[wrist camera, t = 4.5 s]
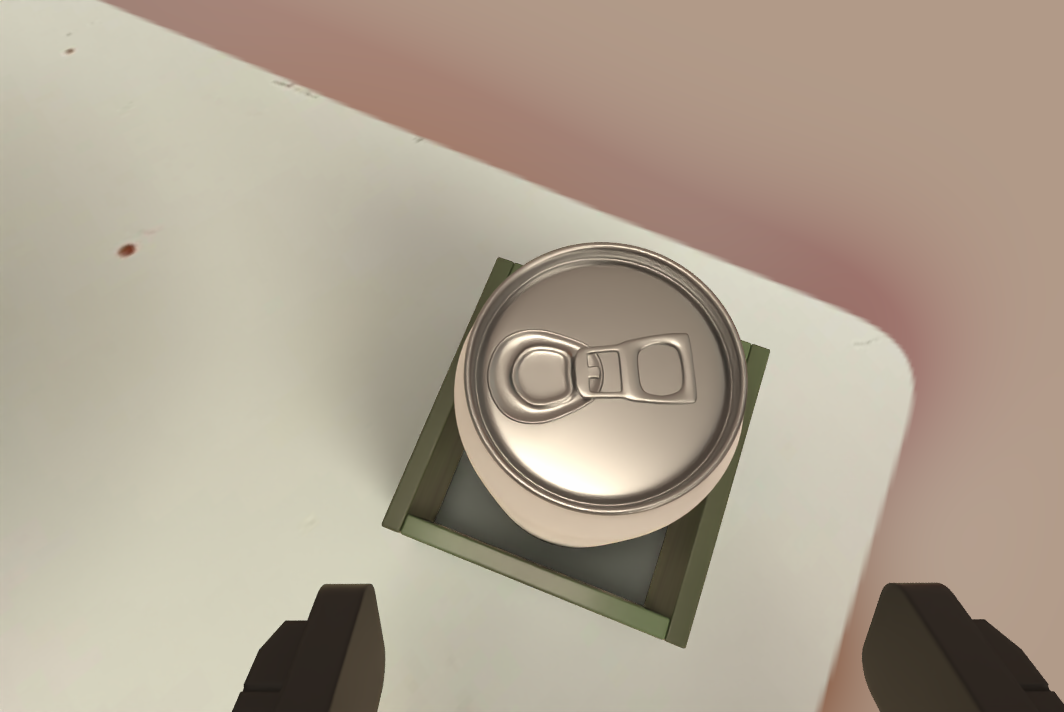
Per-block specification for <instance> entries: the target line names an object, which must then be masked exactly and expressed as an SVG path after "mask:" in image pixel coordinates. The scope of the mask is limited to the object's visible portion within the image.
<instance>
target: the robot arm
mask: <svg viewBox="0 0 1064 712" xmlns="http://www.w3.org/2000/svg"><path fill="white" fill-rule="evenodd" d="M862 663H863V670H864V675H865V679H866V682H867V685H868V688H869V690H870V692H871V694H872V696H873V698H874V700H875V702H876V704H877V706H878V708H879V710H880V712H1064V704H1063V703H1062V701H1061V700H1060V699H1059V697H1058V696H1057V695H1056V693H1055V692H1053V691H1050V690H1049V688H1048V683H1047V682H1046V681H1045V679H1044V678H1043V677H1042V675H1041V674H1040V673H1039V671H1038V670H1037V669H1036V668H1035V666H1034V665H1033V664H1032V662H1031V661H1030V660H1029V659H1028V657H1027V656H1026V655H1025V653H1024V652H1023V651H1022V649H1020V648H1019V647H1018V646H1017V645H1015V644H1014V643H1013V642H1011V641H1010V640H1009V639H1008V638H1007V637H1006V636H1004V635H1003V634H1002V633H1000V632H999V631H998V630H997V629H995V628H994V627H993V626H992V625H991V624H989V623H988V622H987V621H986V620H984V619H979V620H975V619H974V620H972V619H971V617H970V616H969V615H968V613H967V612H966V611H965V609H964V608H963V606H962V605H961V604H960V602H959V601H958V600H957V598H956V597H955V595H954V594H953V593H952V592H951V591H950V590H949V589H948V588H947V587H946V586H944V585H943V584H940V583H889V584H887V585H885V587H884V588H883V590H882V592H881V595H880V598H879V601H878V604H877V607H876V610H875V613H874V616H873V619H872V622H871V625H870V628H869V631H868V634H867V637H866V640H865V643H864V646H863V652H862ZM384 673H385V647H384V641H383V635H382V629H381V624H380V618H379V612H378V607H377V601H376V595H375V590H374V587H373V585H372V584H324V585H323V586H322V587H321V588H320V590H319V592H318V594H317V596H316V599H315V602H314V604H313V607H312V609H311V612H310V615H309V617H308V620H307V621H285V622H284V623H283V624H282V625H281V626H280V627H279V628H278V629H277V631H276V632H275V633H274V634H273V635H272V636H271V637H270V638H269V640H268V641H267V642H266V643H265V644H264V645H263V646H262V647H261V648H260V650H259V651H258V653H257V656H256V658H255V660H254V663H253V665H252V667H251V669H250V672H249V674H248V676H247V678H246V681H245V683H244V689H243V692H240V694H239V697H238V699H237V701H236V704H235V706H234V708H233V710H232V712H377V710H378V706H379V701H380V697H381V693H382V688H383V681H384Z"/></svg>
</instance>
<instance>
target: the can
mask: <svg viewBox="0 0 1064 712" xmlns="http://www.w3.org/2000/svg"><path fill="white" fill-rule="evenodd" d="M747 392H748V374H747V365H746V359H745V354H744V350H743V346H742V343H741V340H740V337H739V334H738V332H737V329H736V327H735V325H734V323H733V321H732V319H731V317H730V316H729V314H728V312H727V311H726V309H725V307H724V306H723V305H722V303H721V302H720V300H719V299H718V298H717V297H716V295H715V294H714V293H713V292H712V291H711V290H710V289H709V288H708V287H707V286H706V285H705V284H704V283H703V282H702V281H701V280H700V279H699V278H698V277H696V276H695V275H694V274H693V273H691V272H690V271H689V270H687V269H686V268H684V267H683V266H681V265H680V264H678V263H676V262H675V261H673V260H671V259H669V258H667V257H665V256H663V255H660V254H658V253H656V252H653V251H650V250H647V249H644V248H640V247H636V246H632V245H627V244H620V243H609V242H594V243H583V244H576V245H571V246H567V247H563V248H559V249H556V250H553V251H551V252H548V253H546V254H543V255H541V256H539V257H537V258H535V259H533V260H531V261H530V262H528V263H526V264H525V265H523V266H521V267H520V268H519V269H517V270H516V271H515V272H513V273H512V274H511V275H510V276H509V277H507V278H506V279H505V280H504V281H503V282H502V283H501V284H500V285H499V286H498V287H497V288H496V290H495V291H494V292H493V293H492V294H491V296H490V297H489V298H488V300H487V301H486V303H485V304H484V306H483V307H482V309H481V311H480V313H479V314H478V316H477V318H476V321H475V323H474V325H473V327H472V328H471V330H470V332H469V334H468V336H467V338H466V340H465V343H464V345H463V348H462V351H461V354H460V357H459V361H458V365H457V369H456V375H455V386H454V404H455V414H456V421H457V426H458V430H459V434H460V437H461V441H462V443H463V446H464V449H465V451H466V454H467V456H468V458H469V460H470V462H471V464H472V466H473V468H474V470H475V471H476V473H477V475H478V476H479V478H480V479H481V481H482V482H483V484H484V485H485V487H486V488H487V489H488V491H489V492H490V493H491V495H492V496H493V497H494V499H495V500H496V501H497V503H498V504H499V505H500V506H501V508H502V509H503V510H504V511H505V512H506V514H507V515H508V516H509V517H510V518H511V519H512V520H513V521H514V522H515V523H516V524H517V525H518V526H519V527H521V528H522V529H523V530H525V531H526V532H527V533H529V534H531V535H532V536H534V537H536V538H538V539H540V540H542V541H545V542H547V543H550V544H554V545H558V546H562V547H570V548H586V547H595V546H601V545H606V544H611V543H616V542H620V541H624V540H629V539H632V538H636V537H640V536H643V535H646V534H649V533H651V532H654V531H656V530H658V529H661V528H663V527H665V526H667V525H669V524H671V523H673V522H674V521H676V520H678V519H679V518H681V517H682V516H684V515H685V514H687V513H688V512H689V511H691V510H692V509H693V508H694V507H695V506H697V505H698V504H699V503H700V502H701V501H702V500H703V499H704V498H705V497H706V496H707V495H708V494H709V493H710V491H711V490H712V489H713V488H714V487H715V485H716V484H717V483H718V482H719V480H720V479H721V477H722V476H723V474H724V473H725V471H726V469H727V467H728V466H729V464H730V462H731V460H732V457H733V455H734V453H735V450H736V447H737V444H738V441H739V438H740V434H741V429H742V424H743V417H744V412H745V407H746V401H747Z"/></svg>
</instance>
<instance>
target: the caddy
mask: <svg viewBox="0 0 1064 712" xmlns="http://www.w3.org/2000/svg"><path fill="white" fill-rule="evenodd" d="M521 266H523V265H521V264H518V263H515V264H514V263H513V262H512V261H509V260H506V259H503V258H500V257H498V258H497V260H496V263H495V265H494V267H493V269H492V272H491V274H490V276H489V279H488V281H487V283H486V285H485V288H484V290H483V292H482V295H481V297H480V299H479V301H478V304H477V306H476V308H475V311H474V313H473V315H472V318H471V320H470V322H469V324H468V327H467V329H466V331H465V334H464V336H463V338H462V340H461V343H460V345H459V347H458V350H457V352H456V354H455V356H454V359H453V361H452V363H451V366H450V368H449V370H448V373H447V375H446V377H445V379H444V382H443V384H442V386H441V389H440V391H439V393H438V395H437V398H436V400H435V402H434V405H433V407H432V409H431V412H430V414H429V416H428V418H427V421H426V423H425V425H424V428H423V430H422V432H421V434H420V437H419V439H418V441H417V444H416V446H415V448H414V450H413V453H412V455H411V457H410V460H409V462H408V464H407V467H406V469H405V471H404V473H403V476H402V478H401V480H400V483H399V485H398V487H397V489H396V492H395V494H394V496H393V499H392V501H391V503H390V505H389V508H388V510H387V512H386V515H385V517H384V519H383V522H382V526H383V527H385V528H388V529H390V530H393V531H395V532H398V533H401V534H402V535H405V536H407V537H410V538H412V539H415V540H417V541H420V542H422V543H425V544H427V545H430V546H432V547H434V548H437V549H439V550H442V551H444V552H447V553H449V554H452V555H454V556H457V557H459V558H462V559H464V560H467V561H469V562H471V563H474V564H476V565H479V566H481V567H484V568H486V569H489V570H491V571H494V572H496V573H499V574H501V575H504V576H506V577H508V578H511V579H513V580H516V581H518V582H521V583H523V584H526V585H528V586H531V587H533V588H536V589H538V590H541V591H543V592H545V593H548V594H550V595H553V596H555V597H558V598H560V599H563V600H565V601H568V602H570V603H573V604H575V605H578V606H580V607H582V608H585V609H587V610H590V611H592V612H595V613H597V614H600V615H602V616H605V617H607V618H610V619H612V620H615V621H617V622H619V623H622V624H624V625H627V626H629V627H632V628H634V629H637V630H639V631H642V632H644V633H647V634H649V635H652V636H654V637H656V638H659V639H661V640H665V641H666V642H669V643H671V644H674V645H676V646H679V647H681V648H686V645H687V641H688V638H689V634H690V631H691V627H692V624H693V620H694V617H695V613H696V610H697V606H698V603H699V599H700V596H701V592H702V589H703V585H704V582H705V578H706V575H707V571H708V568H709V564H710V561H711V557H712V554H713V550H714V547H715V543H716V540H717V536H718V532H719V529H720V525H721V522H722V518H723V515H724V511H725V508H726V504H727V501H728V497H729V494H730V490H731V487H732V483H733V480H734V476H735V473H736V469H737V466H738V462H739V459H740V455H741V452H742V448H743V445H744V441H745V438H746V434H747V431H748V427H749V424H750V420H751V417H752V413H753V410H754V406H755V403H756V399H757V396H758V392H759V389H760V385H761V382H762V378H763V375H764V371H765V368H766V364H767V361H768V357H769V354H770V350H769V349H766V348H763V347H760V346H757V345H755V344H752V345H751V344H750V343H748V342H745V341H742V340H741V343H742V346H743V350H744V354H745V359H746V365H747V374H748V392H747V401H746V407H745V412H744V417H743V424H742V429H741V434H740V438H739V441H738V444H737V447H736V450H735V453H734V455H733V457H732V460H731V462H730V464H729V466H728V467H727V469H726V471H725V473H724V474H723V476H722V477H721V479H720V480H719V482H718V483H717V484H716V485H715V487H714V488H713V489H712V490H711V491H710V493H709V494H708V495H707V496H706V497H705V498H704V499H703V500H702V501H701V502H700V503H699V504H698V505H697V506H695V507H694V508H693V509H692V510H691V511H689V512H688V513H687V514H685V515H684V516H682V517H681V518H679V519H678V520H676V521H674V522H673V523H671V524H669V526H668V529H667V532H666V535H665V539H664V542H663V545H662V548H661V552H660V555H659V558H658V561H657V565H656V568H655V571H654V574H653V578H652V581H651V584H650V587H649V591H648V594H647V597H646V600H645V604H644V606H642V605H639V604H637V603H634V602H632V601H629V600H627V599H624V598H622V597H619V596H617V595H614V594H612V593H609V592H607V591H604V590H602V589H599V588H597V587H594V586H592V585H589V584H587V583H584V582H582V581H579V580H577V579H574V578H572V577H569V576H567V575H564V574H562V573H560V572H557V571H555V570H552V569H550V568H547V567H545V566H542V565H540V564H537V563H535V562H532V561H530V560H527V559H525V558H522V557H520V556H517V555H515V554H512V553H510V552H507V551H505V550H502V549H500V548H497V547H495V546H492V545H490V544H487V543H485V542H482V541H480V540H477V539H475V538H472V537H470V536H467V535H465V534H462V533H460V532H457V531H455V530H452V529H450V528H447V527H445V526H442V525H440V524H437V523H434V521H435V519H436V517H437V514H438V512H439V509H440V507H441V504H442V502H443V500H444V497H445V495H446V492H447V490H448V487H449V485H450V483H451V480H452V478H453V475H454V473H455V471H456V468H457V466H458V463H459V461H460V458H461V456H462V454H463V451H464V446H463V443H462V441H461V437H460V434H459V430H458V426H457V421H456V414H455V404H454V386H455V375H456V369H457V365H458V361H459V357H460V354H461V351H462V348H463V345H464V343H465V340H466V338H467V336H468V334H469V332H470V330H471V328H472V327H473V325H474V323H475V321H476V318H477V316H478V314H479V313H480V311H481V309H482V307H483V306H484V304H485V303H486V301H487V300H488V298H489V297H490V296H491V294H492V293H493V292H494V291H495V290H496V288H497V287H498V286H499V285H500V284H501V283H502V282H503V281H504V280H505V279H506V278H507V277H509V276H510V275H511V274H512V273H513V272H515V271H516V270H517V269H519V268H520V267H521Z"/></svg>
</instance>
